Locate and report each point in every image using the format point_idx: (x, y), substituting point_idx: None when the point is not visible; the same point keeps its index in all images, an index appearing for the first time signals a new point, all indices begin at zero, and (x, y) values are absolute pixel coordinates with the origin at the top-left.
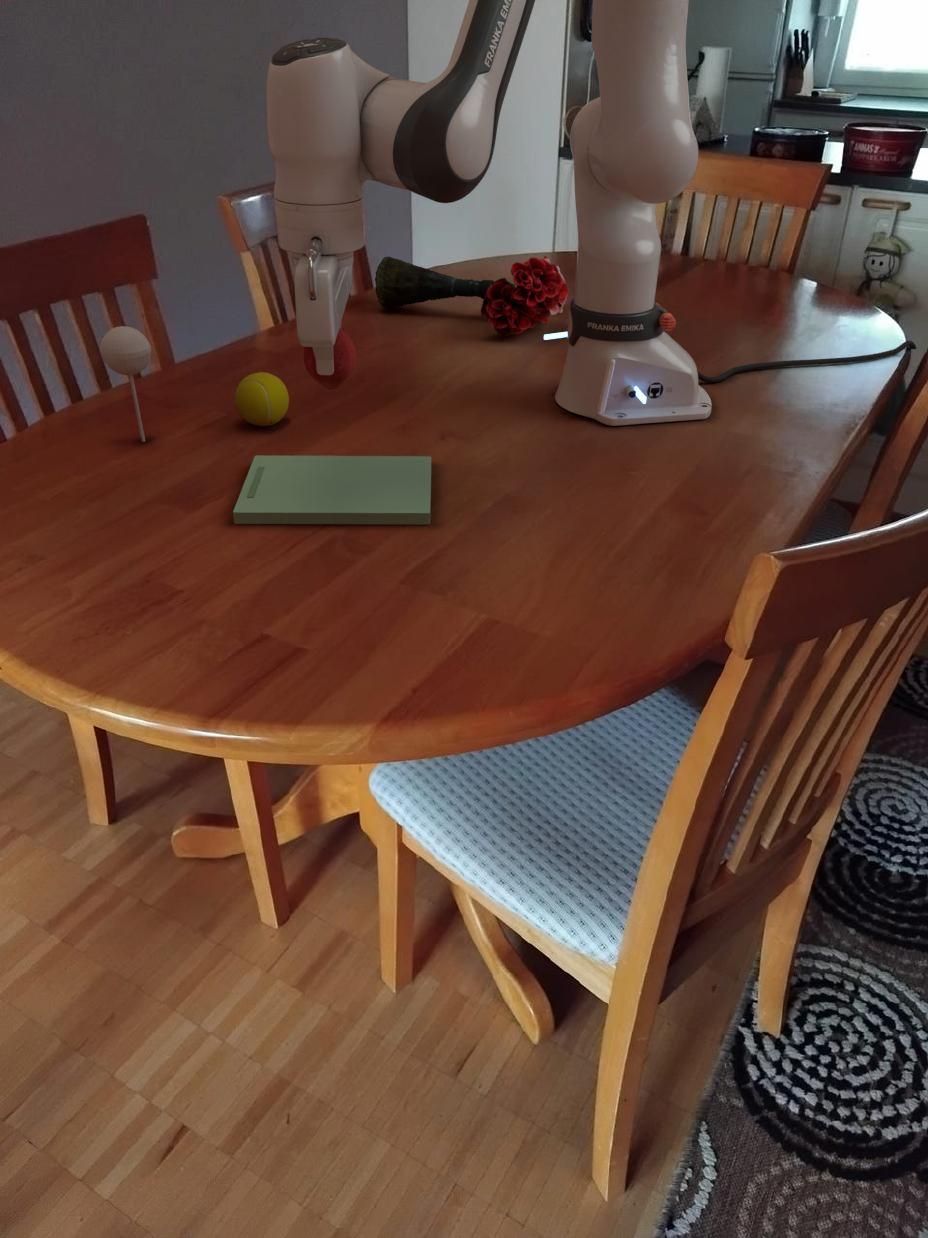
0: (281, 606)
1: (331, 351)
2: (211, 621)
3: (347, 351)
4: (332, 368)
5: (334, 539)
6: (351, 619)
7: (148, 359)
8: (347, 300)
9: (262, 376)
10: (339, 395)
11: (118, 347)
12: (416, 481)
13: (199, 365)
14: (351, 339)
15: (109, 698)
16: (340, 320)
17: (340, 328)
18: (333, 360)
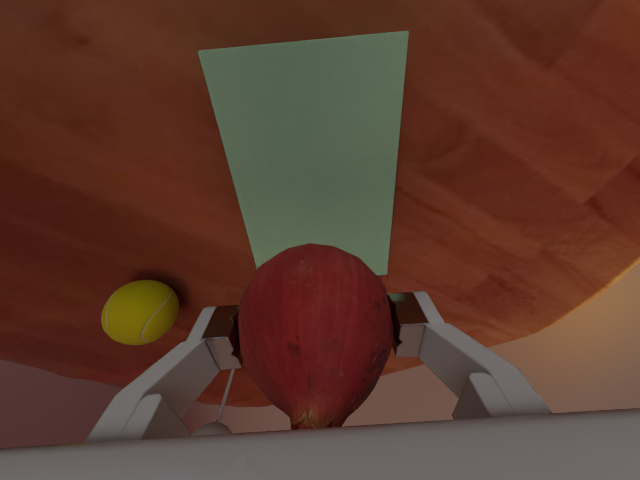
0: (545, 197)
1: (483, 348)
2: (545, 245)
3: (364, 297)
4: (430, 301)
5: (425, 170)
6: (602, 121)
7: (207, 434)
8: (30, 456)
9: (126, 333)
10: (27, 234)
11: None
12: (299, 70)
13: (55, 364)
14: (276, 309)
15: (613, 279)
16: (509, 465)
17: (182, 353)
18: (429, 315)
